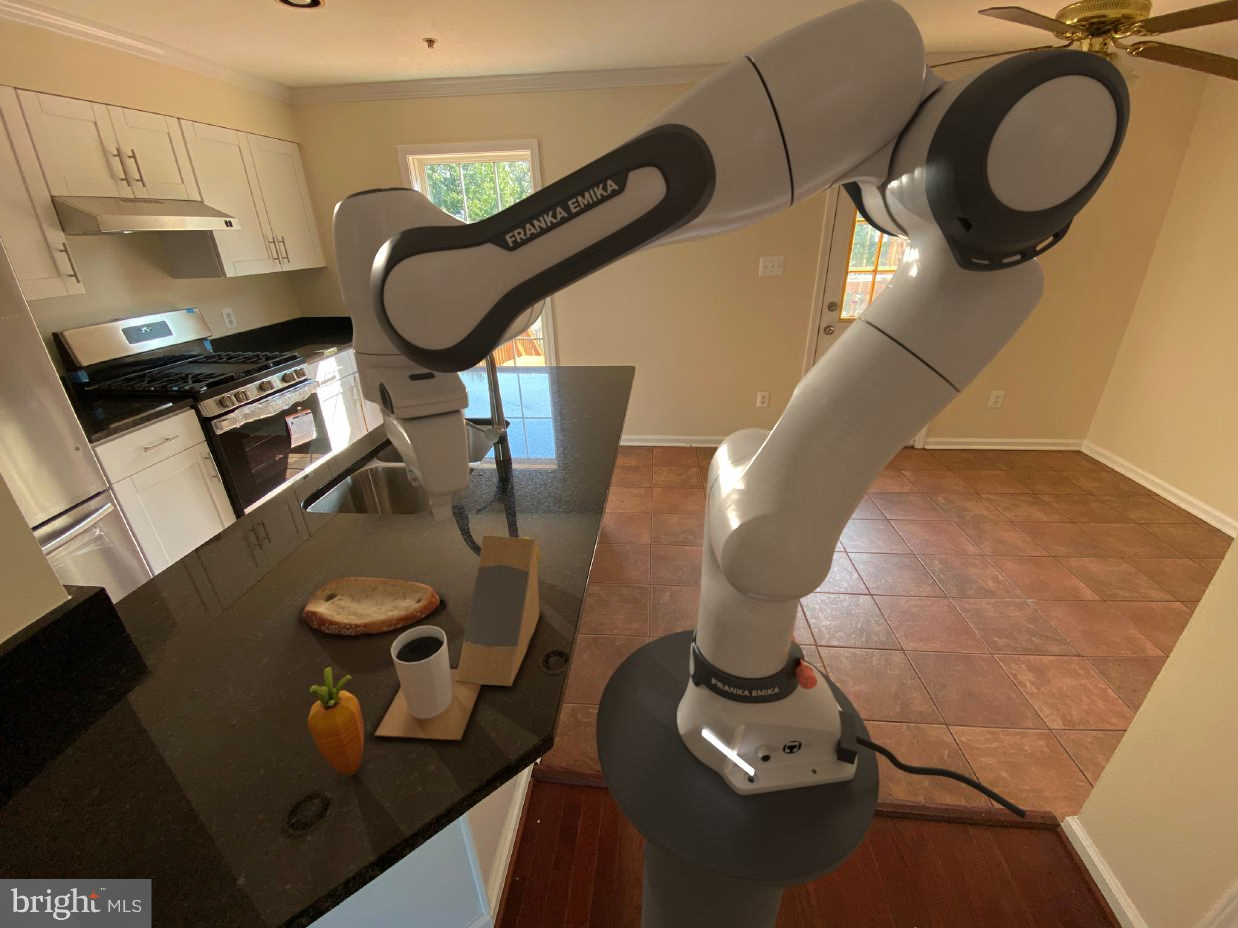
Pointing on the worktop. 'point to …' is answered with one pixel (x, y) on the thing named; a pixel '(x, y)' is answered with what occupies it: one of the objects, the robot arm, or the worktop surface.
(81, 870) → the worktop surface
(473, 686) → the cork coaster
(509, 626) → the sandwich container
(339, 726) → the carrot
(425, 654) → the white coffee cup
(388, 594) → the slice of bread
